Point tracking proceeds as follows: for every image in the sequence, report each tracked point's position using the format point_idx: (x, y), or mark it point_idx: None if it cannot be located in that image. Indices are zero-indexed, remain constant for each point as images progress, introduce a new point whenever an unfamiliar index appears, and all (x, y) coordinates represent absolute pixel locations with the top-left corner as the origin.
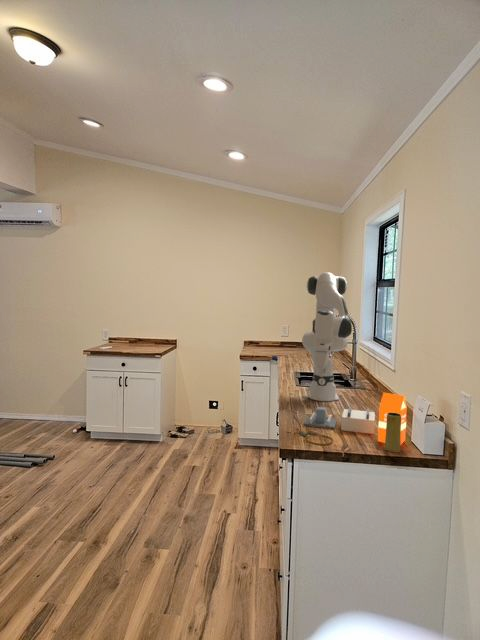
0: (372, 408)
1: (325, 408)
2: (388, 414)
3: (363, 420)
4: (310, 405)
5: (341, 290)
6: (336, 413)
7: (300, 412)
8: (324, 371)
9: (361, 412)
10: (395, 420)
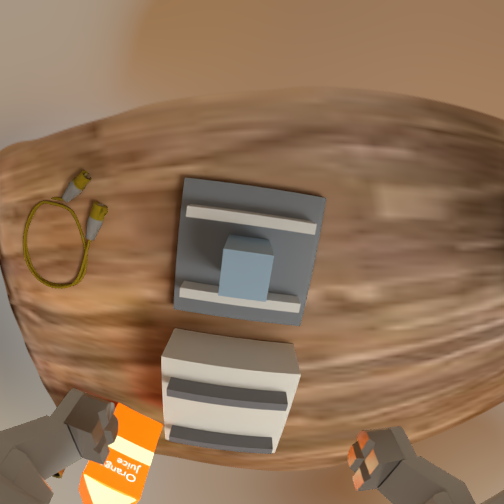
0: (437, 407)
1: (249, 298)
2: None
3: (164, 414)
4: (480, 217)
5: None
6: (395, 318)
7: (390, 164)
8: (357, 462)
9: (258, 424)
10: None
